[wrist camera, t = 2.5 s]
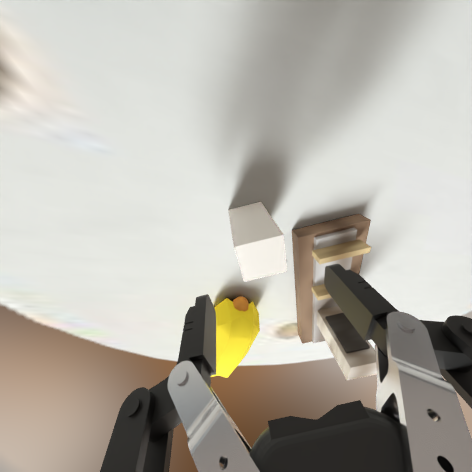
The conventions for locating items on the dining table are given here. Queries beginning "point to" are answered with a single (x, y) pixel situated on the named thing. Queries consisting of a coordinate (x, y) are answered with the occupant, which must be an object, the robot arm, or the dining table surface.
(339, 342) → the wooden ladder shelf
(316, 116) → the dining table surface
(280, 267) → the loose white rectangular block
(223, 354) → the yellow faceted pepper
